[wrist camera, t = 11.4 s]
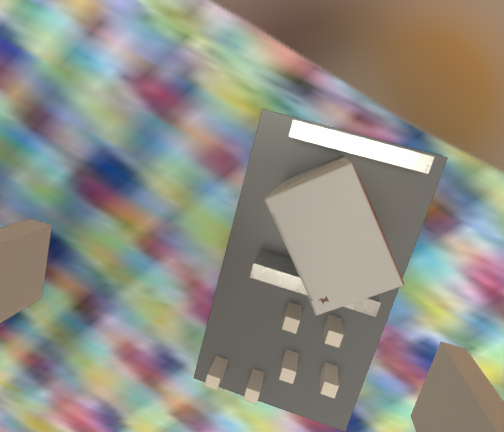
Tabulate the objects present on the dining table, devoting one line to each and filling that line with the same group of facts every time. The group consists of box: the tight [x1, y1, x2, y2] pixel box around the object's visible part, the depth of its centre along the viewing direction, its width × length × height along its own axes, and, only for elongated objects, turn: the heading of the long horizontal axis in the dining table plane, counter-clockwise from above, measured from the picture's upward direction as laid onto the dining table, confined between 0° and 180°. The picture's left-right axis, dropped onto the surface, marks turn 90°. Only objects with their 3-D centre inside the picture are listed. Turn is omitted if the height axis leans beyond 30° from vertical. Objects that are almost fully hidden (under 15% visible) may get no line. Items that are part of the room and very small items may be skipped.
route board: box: [194, 109, 447, 431], centre depth 33 cm, size 15×26×4 cm, turn 166°
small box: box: [264, 156, 404, 315], centre depth 28 cm, size 8×6×10 cm
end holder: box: [250, 120, 434, 317], centre depth 31 cm, size 10×12×4 cm
